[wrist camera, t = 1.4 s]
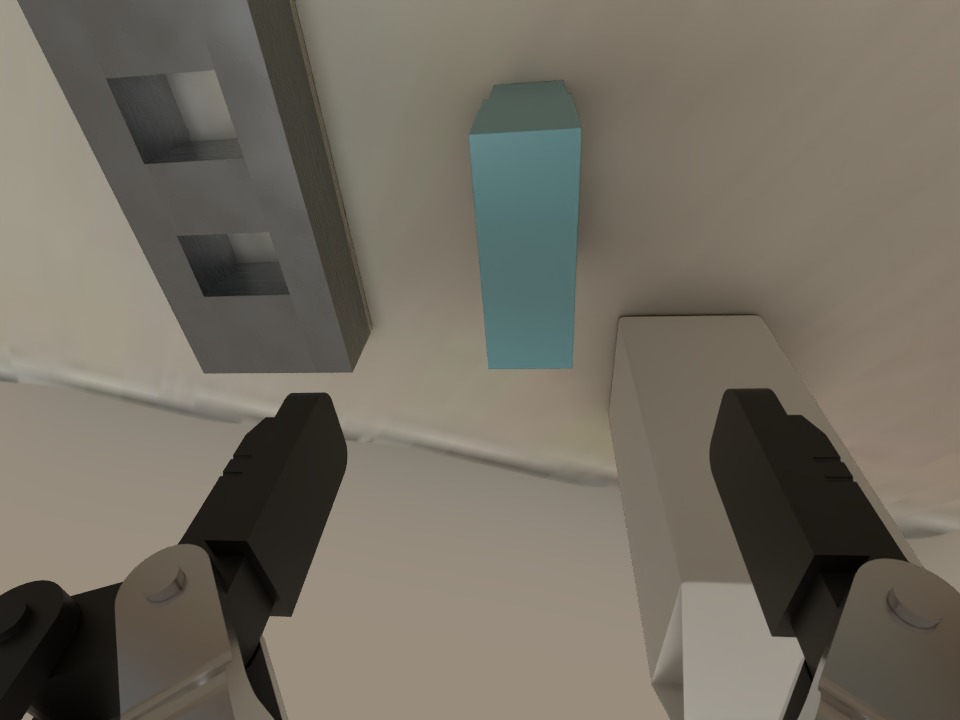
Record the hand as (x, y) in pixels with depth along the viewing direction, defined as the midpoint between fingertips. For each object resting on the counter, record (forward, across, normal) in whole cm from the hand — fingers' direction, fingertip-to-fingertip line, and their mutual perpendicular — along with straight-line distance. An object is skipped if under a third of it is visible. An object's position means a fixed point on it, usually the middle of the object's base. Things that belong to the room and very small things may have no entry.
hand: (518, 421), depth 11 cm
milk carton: (+16, -8, +11) cm, 21 cm away
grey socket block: (+16, +13, -1) cm, 20 cm away
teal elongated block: (+16, 0, 0) cm, 16 cm away
